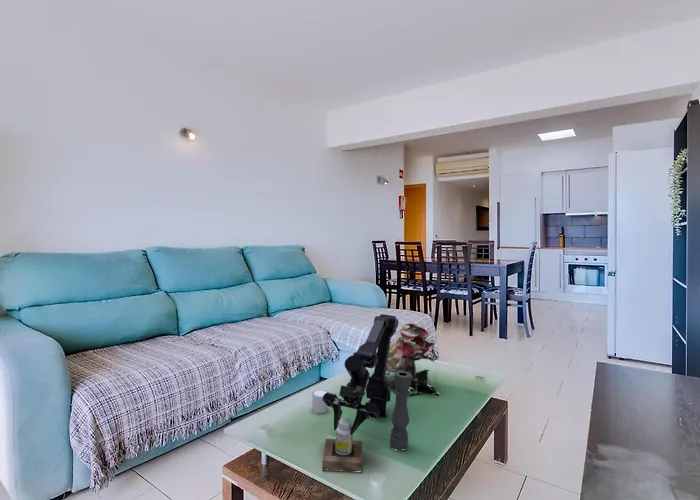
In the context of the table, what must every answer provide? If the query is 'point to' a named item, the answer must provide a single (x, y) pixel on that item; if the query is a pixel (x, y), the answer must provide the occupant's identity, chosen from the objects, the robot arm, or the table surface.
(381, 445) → the table surface
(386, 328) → the robot arm
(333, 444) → the socket block
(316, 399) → the shot glass
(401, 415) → the candle holder
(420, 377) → the rose bouquet
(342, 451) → the supplement bottle
